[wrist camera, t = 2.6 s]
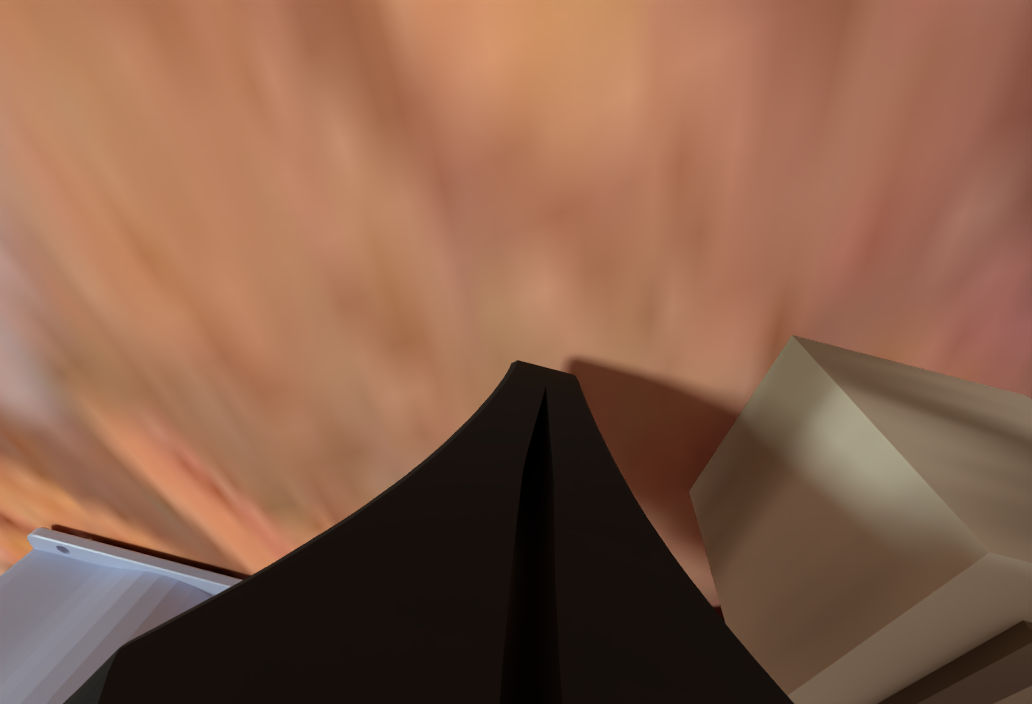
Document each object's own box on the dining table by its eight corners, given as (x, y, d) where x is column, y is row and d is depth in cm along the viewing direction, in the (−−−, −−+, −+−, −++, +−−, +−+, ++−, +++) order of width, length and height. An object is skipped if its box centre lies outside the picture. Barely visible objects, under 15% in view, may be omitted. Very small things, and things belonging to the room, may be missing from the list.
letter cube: (688, 488, 11) (756, 735, 7) (790, 333, 9) (1006, 570, 4) (866, 535, 11) (1049, 811, 7) (1023, 393, 9) (1481, 692, 4)
